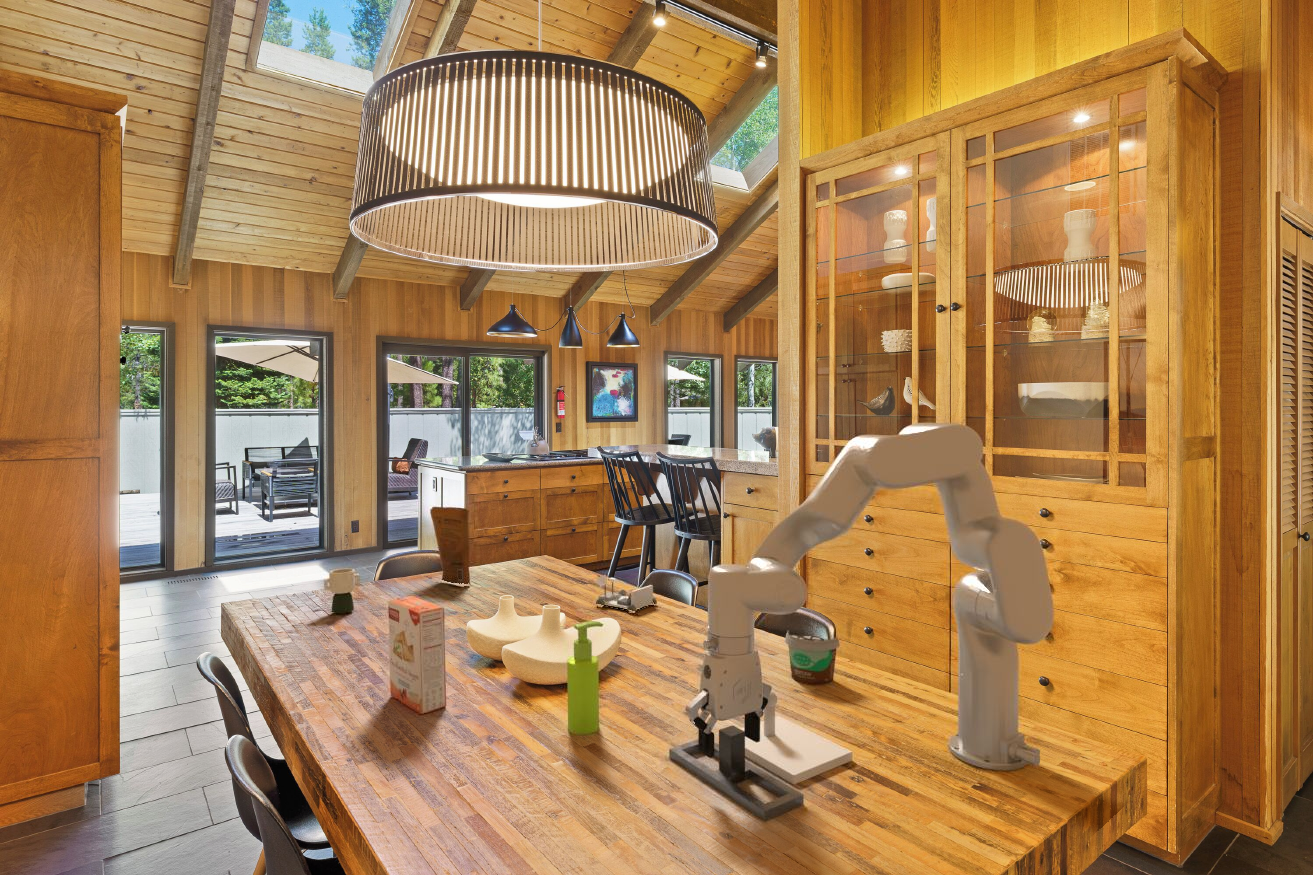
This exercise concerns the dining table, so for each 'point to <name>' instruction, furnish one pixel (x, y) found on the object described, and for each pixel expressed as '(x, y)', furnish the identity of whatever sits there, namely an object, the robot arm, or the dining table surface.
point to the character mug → (342, 589)
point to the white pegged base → (792, 748)
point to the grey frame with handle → (738, 774)
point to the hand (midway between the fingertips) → (729, 746)
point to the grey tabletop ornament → (632, 602)
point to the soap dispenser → (583, 684)
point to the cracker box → (417, 653)
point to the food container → (812, 658)
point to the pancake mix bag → (452, 542)
